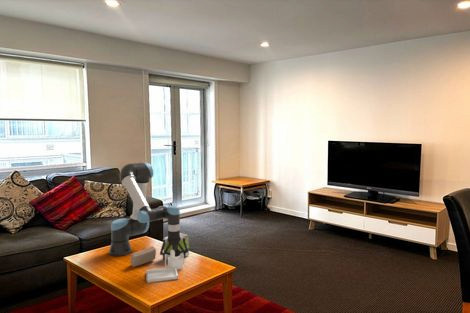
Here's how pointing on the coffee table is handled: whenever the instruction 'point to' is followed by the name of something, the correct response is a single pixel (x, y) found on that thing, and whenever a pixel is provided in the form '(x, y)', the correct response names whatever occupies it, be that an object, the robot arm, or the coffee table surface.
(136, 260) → the brick
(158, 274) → the tray
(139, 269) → the coffee table surface
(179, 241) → the tea box
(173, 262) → the medicine bottle
